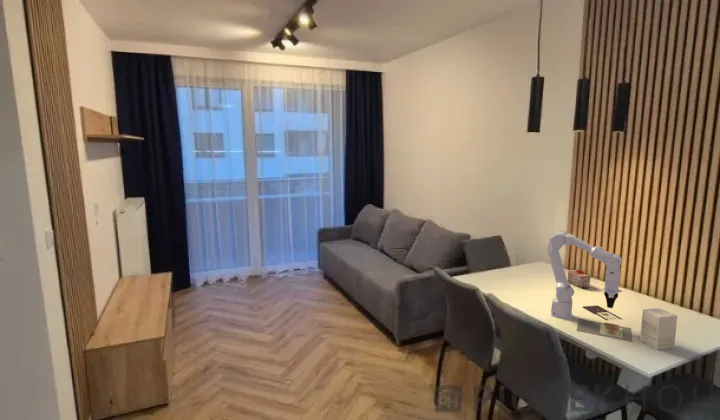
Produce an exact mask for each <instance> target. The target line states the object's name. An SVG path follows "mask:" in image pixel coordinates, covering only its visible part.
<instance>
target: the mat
mask: <svg viewBox="0 0 720 420" xmlns="http://www.w3.org/2000/svg"><path fill="white" fill-rule="evenodd" d="M576 332H580V333H585V334H586V333H587V334H590V335H595V336H601V337H605V338H610V339H615V340H619V341H625V342H630V343H633V334H632V328H631V327H627V326H622V325H619V336H617V335H612V334H607V333H604V322H601V321H595V320H588V319H584V318H578V321H577V327H576Z"/></svg>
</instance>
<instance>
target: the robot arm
mask: <svg viewBox="0 0 720 420" xmlns="http://www.w3.org/2000/svg"><path fill="white" fill-rule="evenodd" d="M563 245H564V246H575V247H577V248H579V249H581V250H583V251H585V252H587V253H589V256H590V257H592V258H593V259H595V260H597V261H599V262H601V263H603V264H605V266H606V270H605V278H604V279H605V280H604V288H603V291H604V292H603V295H604V297H605V300H606V301H605V302H606V307H607V309H613V308H614V305H615V302H616V301H617V299H618V297H619V293H622V289H620V280H621V265H622V264H623V257H621V256H620V255H619V254H616V253H613V252H609V251H607V250H605V249H604V247H602V246H598V245H597V246H592V245H590V244H589V243H587V242H585V241H583V240H582V239H580V238H579V237H577V236H576V235H575V236H574V235H573V234H572V233H569V232H567V231H565V230H560V231H559V232H557V233H554V234H552V236H551V237H550V238H549V240H548V244H547V248H546V251H547V255H548V258H549V261H550V265H551V270H552V272H553V276H554V279H555V282H556V284H555V291H556V293H555V298H554V297H553V298H552V300H551V308H550V312H551V313H550V317H551V318H552V317H553V318H559V319H563V320H567V321H568V320H569V321H573V316H574V314H572V313H573V298H572V297H573V296H574V295H575V290H574V288H573V287H572V285H571V283H569V282H568V277H567V276H566V275H567V274H566V271H565V268H564V264H563V261H562V257H561V254H560V251H561V249H562V247H563Z"/></svg>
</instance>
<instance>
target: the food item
mask: <svg viewBox="0 0 720 420" xmlns="http://www.w3.org/2000/svg"><path fill="white" fill-rule="evenodd" d="M567 281H568V282H569V283H570V285H571V284H572V286H574V287H578V288H581V289H589V288H590V283H591V275H588V274H586V273H585V272H584V271H583V270H580V269H578V270H577V269H570V270H568V273H567Z"/></svg>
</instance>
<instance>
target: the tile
mask: <svg viewBox="0 0 720 420" xmlns="http://www.w3.org/2000/svg"><path fill="white" fill-rule="evenodd" d="M603 323H604V333H607V334H612V335H617V336H619V326H620V324H615V323H609V322H603Z"/></svg>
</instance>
